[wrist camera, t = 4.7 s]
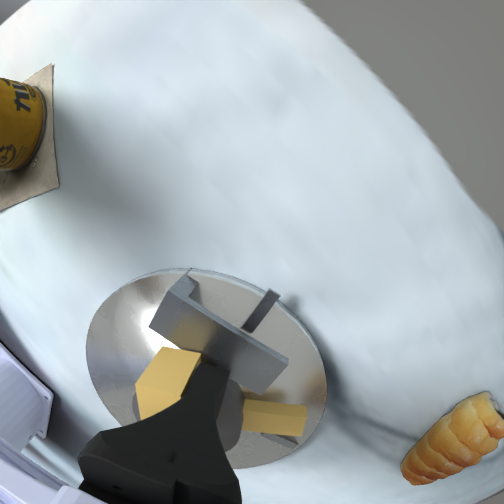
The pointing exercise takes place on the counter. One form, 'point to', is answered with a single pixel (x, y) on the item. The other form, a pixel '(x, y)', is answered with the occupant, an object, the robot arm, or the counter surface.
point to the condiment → (26, 138)
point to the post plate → (229, 303)
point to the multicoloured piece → (233, 406)
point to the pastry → (455, 441)
